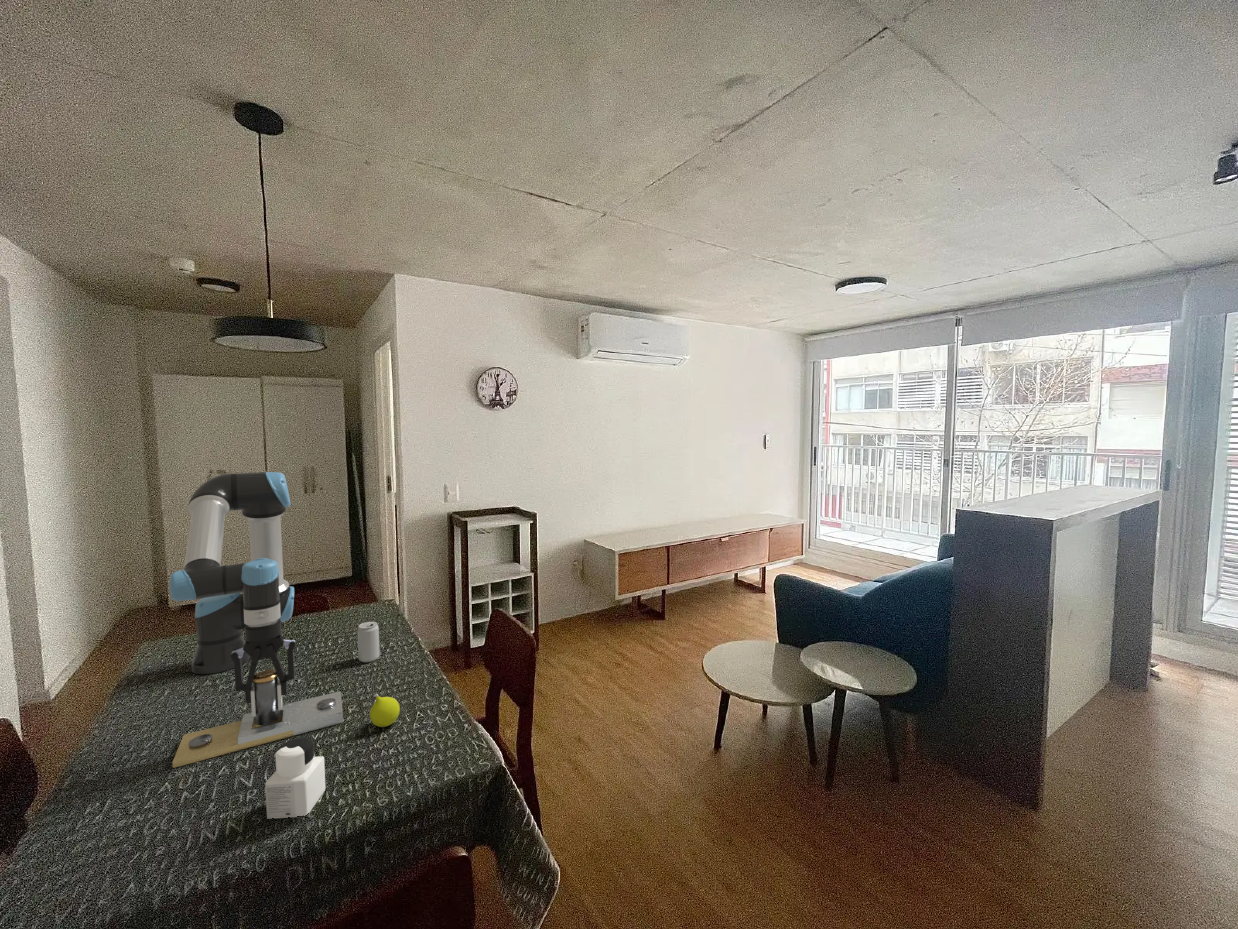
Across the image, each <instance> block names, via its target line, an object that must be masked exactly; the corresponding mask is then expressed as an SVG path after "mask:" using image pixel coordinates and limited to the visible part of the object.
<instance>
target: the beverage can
mask: <svg viewBox="0 0 1238 929" xmlns="http://www.w3.org/2000/svg"><path fill="white" fill-rule="evenodd" d="M379 630H380V629H379V625H378V622H376V621H366V622H362V623H360V624H359V625H358V628H357V631H356V632H357V634H356V635H357V653H358V661H360V662H362V663H371V662H374V661H376V660H377V659H378V658H379V657H380V655H381V654H380V653H381V652H380V631H379Z"/></svg>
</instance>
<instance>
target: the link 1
mask: <svg viewBox="0 0 1238 929" xmlns="http://www.w3.org/2000/svg"><path fill="white" fill-rule="evenodd" d="M282 720H283V715H282V716H279V719H278V720H277V721H275V722H273V723H271V724H275V723H279V722H282ZM241 723H242V720H238V721H234V722H233V721H232V722H230V723H226V724H225V723H224V724H223V725H222V724H221V725H217V726H213V727H210V728H205V729H201V730H198V731H194V732H189V733H185V734H183V736H182V738H181V741H180V743H179V745H178V747H177V749H176V752H175V756H174V758H173V759H172V768H178V767H179V768H180V767H182V766H185V765H190V764H194V763H197V762H198V763H199V762H200V761H204V760H208V759H212V758H215V757H219V756H223V755H226V754H230V753H234V752H238V751H241V750H246V749H249V748H253V747H257V746H261V745H263V744H268V743H272V742H275V741H279V740H282V739H287V738H291V737H294V736H295V735H294V731H293V730H291V731H288V732H284V733H280V734H276V735H272V736H269V737H265V738H261V739H257V740H253V741H250V742H246V743H242V744H238V736H239V731H240V727H241ZM271 724H270V725H271ZM263 726H265V725H257V724H256V722H254V726H253V729H255V728H259V727H263Z"/></svg>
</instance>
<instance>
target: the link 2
mask: <svg viewBox="0 0 1238 929" xmlns="http://www.w3.org/2000/svg"><path fill="white" fill-rule="evenodd" d="M342 701H343V700H342V692H341V690H340V691H335V692H331V693H327V694H324V695H323V694H322V695H319V696H315V697H311V698H307V699H301V700H299V701H298V700H297V701H295V702H290V703H285V704H282V710H279V716H282V715H283V720H282V721H280V722H276V723H272V724H268V725H264V726H260V727H256V728H254V729H253V726H254V722H256V716H253V717H252V712H249V713H244V714H243V716H242V719H241V721H242V723H241V727H240V731H239V736H238V744H242V743H246V742H250V741H253V740H257V739H261V738H265V737H269V736H272V735H276V734H280V733H284V732H288V731H291V730H293V731H294V736H298V735H301V734H305V733H308V732H311V731H316V730H320V729H323V728H327V727H331V726H335V725H338V724H342V723H344V712H343V710H344V709H343V702H342Z"/></svg>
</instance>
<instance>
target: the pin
mask: <svg viewBox="0 0 1238 929" xmlns="http://www.w3.org/2000/svg"><path fill="white" fill-rule="evenodd" d="M252 684H254V686H253V687H255V705H256V724H257V725H264V726H267V725H271V723H272V724H274V723H273V722H275V721H277V720H278V719H279V710H278V694H277V684H278V674H277V673H276V670H275V668H274V669H267V670H262V671H260V672H257V673H255V674H254V678H253V682H252Z"/></svg>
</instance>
